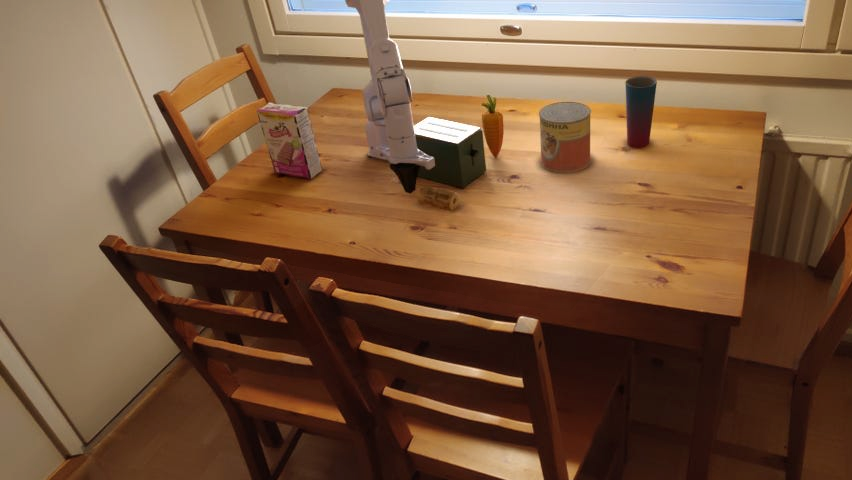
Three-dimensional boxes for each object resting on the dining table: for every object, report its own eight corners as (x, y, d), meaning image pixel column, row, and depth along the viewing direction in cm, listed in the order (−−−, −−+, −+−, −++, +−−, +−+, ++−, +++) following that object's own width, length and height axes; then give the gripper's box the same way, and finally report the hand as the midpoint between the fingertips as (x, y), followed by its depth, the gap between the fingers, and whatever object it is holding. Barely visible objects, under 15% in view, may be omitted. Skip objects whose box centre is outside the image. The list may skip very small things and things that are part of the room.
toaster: (410, 176, 158) (403, 131, 152) (434, 160, 164) (428, 116, 157) (467, 191, 150) (462, 144, 143) (490, 173, 156) (486, 127, 149)
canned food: (530, 161, 158) (528, 112, 152) (566, 145, 164) (565, 97, 157) (564, 177, 151) (563, 126, 144) (600, 160, 156) (601, 110, 149)
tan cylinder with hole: (461, 204, 146) (459, 187, 143) (450, 213, 143) (448, 196, 140) (428, 197, 149) (426, 181, 147) (418, 206, 146) (415, 190, 144)
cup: (620, 148, 160) (622, 86, 151) (626, 136, 165) (629, 75, 156) (650, 151, 157) (653, 88, 149) (655, 138, 162) (659, 76, 154)
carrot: (504, 161, 160) (499, 100, 151) (483, 161, 161) (477, 100, 152) (507, 152, 164) (503, 91, 155) (487, 152, 165) (481, 92, 156)
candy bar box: (273, 174, 165) (254, 110, 156) (286, 165, 169) (268, 101, 159) (311, 180, 161) (294, 114, 151) (323, 170, 164) (307, 105, 155)
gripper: (361, 134, 142) (373, 192, 150) (415, 147, 135) (425, 207, 143) (384, 121, 147) (394, 178, 155) (437, 133, 140) (445, 191, 147)
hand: (410, 191), depth 149 cm, fingers closed
